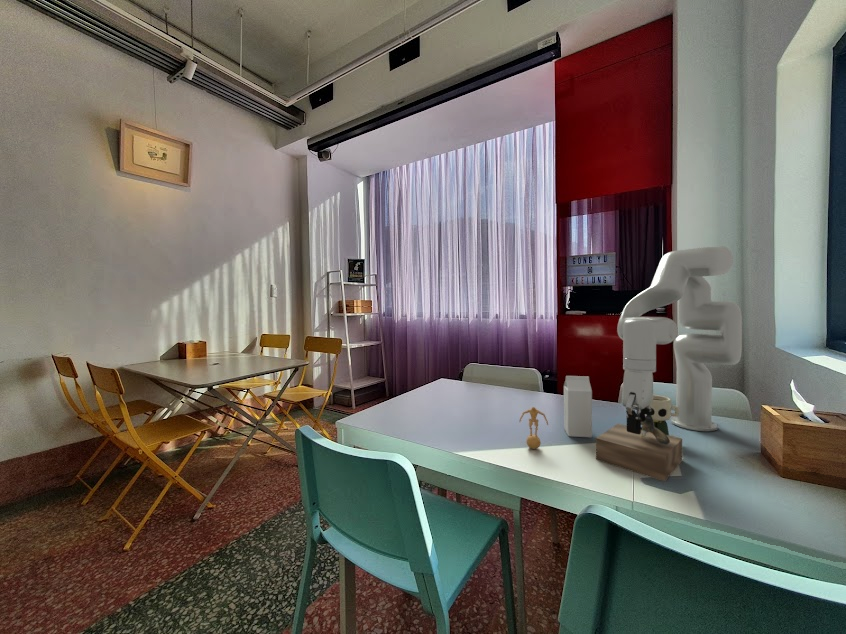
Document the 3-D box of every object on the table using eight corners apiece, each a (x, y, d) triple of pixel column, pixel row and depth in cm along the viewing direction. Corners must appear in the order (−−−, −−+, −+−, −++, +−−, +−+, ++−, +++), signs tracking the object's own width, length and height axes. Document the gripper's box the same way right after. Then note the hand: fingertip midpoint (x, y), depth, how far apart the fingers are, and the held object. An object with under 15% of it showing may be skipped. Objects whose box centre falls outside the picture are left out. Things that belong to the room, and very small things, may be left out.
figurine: (518, 449, 102) (518, 409, 101) (520, 441, 107) (519, 403, 107) (548, 453, 99) (547, 412, 98) (548, 444, 104) (548, 406, 104)
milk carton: (592, 438, 109) (592, 378, 108) (568, 436, 110) (568, 378, 110) (586, 429, 116) (586, 374, 115) (563, 428, 117) (563, 373, 116)
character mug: (635, 438, 108) (635, 397, 107) (637, 431, 113) (637, 392, 113) (678, 446, 101) (678, 403, 101) (678, 438, 107) (678, 397, 106)
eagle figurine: (620, 429, 93) (649, 435, 85) (629, 405, 95) (658, 409, 86) (642, 442, 94) (672, 450, 86) (650, 418, 96) (681, 423, 87)
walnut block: (617, 442, 105) (618, 423, 104) (682, 460, 93) (682, 438, 92) (595, 459, 94) (595, 438, 94) (664, 481, 82) (665, 457, 82)
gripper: (634, 358, 101) (634, 417, 102) (611, 367, 90) (611, 433, 90) (665, 361, 95) (664, 424, 96) (644, 371, 84) (644, 442, 85)
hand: (639, 428), depth 93 cm, fingers closed on eagle figurine, 7 cm apart
